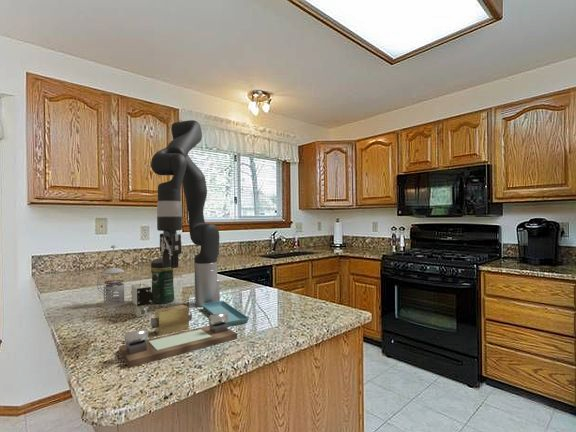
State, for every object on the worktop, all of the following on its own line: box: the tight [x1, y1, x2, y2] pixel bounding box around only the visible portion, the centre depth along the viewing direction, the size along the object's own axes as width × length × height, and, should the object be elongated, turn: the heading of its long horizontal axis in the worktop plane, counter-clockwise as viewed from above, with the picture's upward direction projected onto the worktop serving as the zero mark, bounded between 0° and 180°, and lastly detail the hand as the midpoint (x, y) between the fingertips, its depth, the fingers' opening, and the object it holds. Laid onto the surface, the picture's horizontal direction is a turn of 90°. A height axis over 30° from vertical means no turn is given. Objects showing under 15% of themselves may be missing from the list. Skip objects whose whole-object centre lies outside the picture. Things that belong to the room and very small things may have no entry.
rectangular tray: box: [201, 300, 250, 327], centre depth 119 cm, size 26×9×2 cm, turn 31°
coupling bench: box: [118, 312, 238, 368], centre depth 92 cm, size 29×12×6 cm, turn 127°
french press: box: [96, 244, 128, 308], centre depth 138 cm, size 10×12×25 cm
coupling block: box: [150, 304, 193, 337], centre depth 104 cm, size 12×4×7 cm, turn 127°
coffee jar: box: [150, 258, 175, 304], centre depth 141 cm, size 10×8×19 cm
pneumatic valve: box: [130, 282, 153, 318], centre depth 121 cm, size 6×12×12 cm, turn 38°
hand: (170, 266), depth 104 cm, fingers open, 8 cm apart
